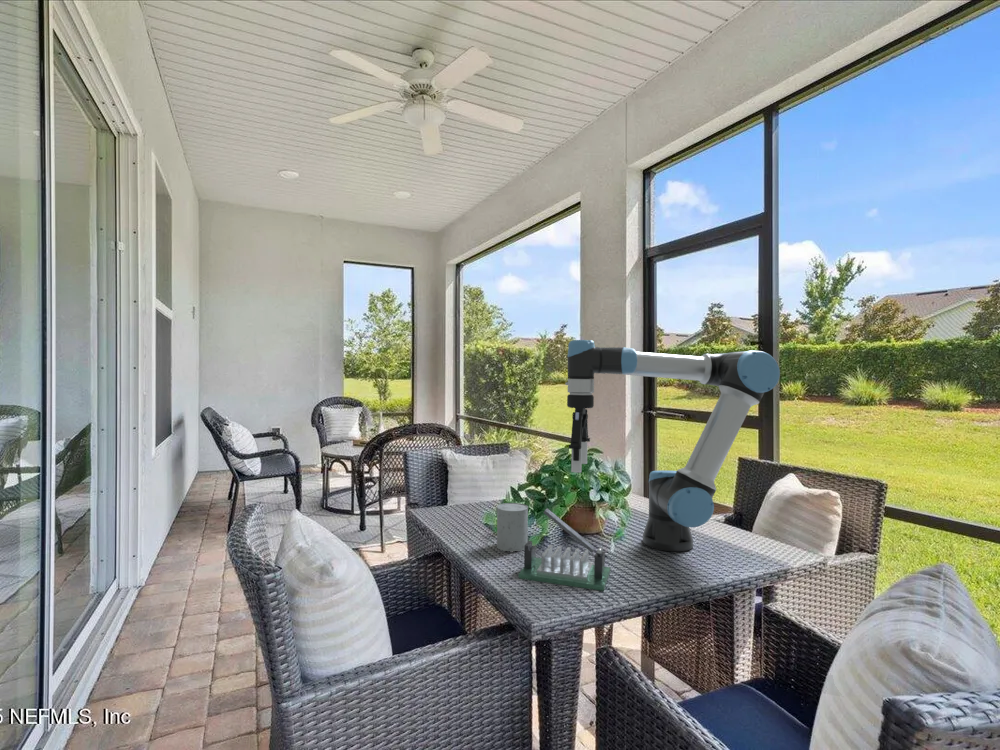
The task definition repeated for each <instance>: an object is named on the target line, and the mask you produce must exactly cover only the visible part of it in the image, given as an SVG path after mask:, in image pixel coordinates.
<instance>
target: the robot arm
mask: <svg viewBox="0 0 1000 750" xmlns="http://www.w3.org/2000/svg"><path fill="white" fill-rule="evenodd" d="M595 374H605V375H606V374H608V375H609V374H610V375H626V376H634V377H635V376H637V377H650V378H663V379H675V380H685V381H686V380H688V381H698V382H699V383H700V384H701V385H710V386H714V387H715V386H716V387H718V388H719V391H720V395H719V398H718V400H717V401H716V403H715V406H714V407H713V410H712V411H711V414H710V415H709V418H708V420H707V422H706V424H705V426H704V428H703V430H702V431H701V434H700V436H699V439H697V442H696V444H695V447H694V448H693V451H692V452H691V455H690V456H689V459H688V460H687V463H686V465H685V466H684V467H681V468H680V469H679V468H678V469H677V470H662V469H661V470H653V471H650V473H649V476H648V477H649V478H648V519H647V521H646V524H645V528H644V530H643V532H642V543H643V544H645V546H647V547H650V548H651V549H654V550H655V549H656V550H659V551H664V552H686V551H689V550H692V549H693V548H694V538H693V535H692V531H691V528H698V527H702V526H703V525H705V524H706V523H708V521H710V519H711V518H712V516H713V514H714V511H715V504H714V500H713V497H714V496H715V493H716V491H717V486H716V484H715V480H716V478H717V476H718V474H719V472H720V469H721V468H722V466H723V464H724V462H725V459H726V458H727V456H728V454H729V452H730V450H731V447H732V446H733V443H734V441H735V440H736V438H737V435H738V434H739V431H740V430H741V427H742V425H743V424H744V421H745V420H746V417H747V415H748V413H749V411H750V409H751V408H752V407H753V406H755V405H758V404H760V402H761V400H762V398H763V396H764V394H765V393H768V392H769V391H771V390H773V389H774V388H775V387H776V386H777V384H778V383H779V380H780V377H781V375H780V374H781V371H780V367H779V365H778V362H777V361H776V359H775V358H774V357H773V356H772V355H771V354H770V353H767V352H765V351H762V350H753V349H752V350H751V349H750V350H747V351H733V352H726V353H714V354H713V353H712V354H711V353H703V354H702V355H701V356H700V355H699V356H697V355H685V354H672V353H659V352H648V351H646V352H645V351H636V349H635V348H633V347H626V346H623V347H598V346H596V345H595V341H594V340H592V339H573V340H572V339H571V341H569V342H568V347H567V382H565V384H564V385H565V386H567V393H568V395H567V401H566V407H568V408H569V409H574V412H572V424H571V437H570V444H569V445H568V449H571V459H570V460H571V465H570V466H571V470H570V472H571V473H580V474H581V473H582V468H583V467H582V466H583V465H587V464H588V443H589V442H590V441H591V438H590V437H589V428H588V417H589V415H588V409H593V408H594V402H595V401H594V400H595V399H594V398H595V396H594V395H593V393H595Z"/></svg>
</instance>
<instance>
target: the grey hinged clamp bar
mask: <svg viewBox="0 0 1000 750" xmlns="http://www.w3.org/2000/svg"><path fill="white" fill-rule="evenodd" d="M543 514H544V515H545V516H547V517H548V518H549V519H550V520H551V521H553V522H554V523H555V524H556V525H557V526H558V527H560V528H561V529H562V530H564V532H566V533H567V534H569V536H571V537H572V538H573V539H575V540H576V541H577V542H578V543H580V545H582V546H583V547H584V548H585V549H588V550H589V553H594V551H595V550H596V547H595V546H594V545H592V543H590V542H589V541H588V540H587V539H586V538H584V537H583V536H582V535H580V534H579V533H578V531H576V530H575V529H574V528H572V526H570V525H568V524H567V523H566V522H565V521H563V520H562V519H561V518H560V517H559V516H557V515H556V514H555V513H554V512H553V511H551V510H550V509H549V508H548V507H547V508H546V509H544V511H543ZM597 548H598V549H597V550H596V552H597V555H599V556H600V555H601V553H602V551H604V548H603V547H602V546H599V547H597Z"/></svg>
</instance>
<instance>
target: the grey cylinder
mask: <svg viewBox="0 0 1000 750" xmlns="http://www.w3.org/2000/svg"><path fill="white" fill-rule="evenodd" d="M496 509H497V510H496V512H497V513H496V515H497V517H496V522H497V523H496V524H497V525H496V548H497V549H498V550H499V549H500V550H499V551H502V550H503V551H502V552H505V551H510V552H509V553H512V552H511V551H520V550H524V545H525V544H526V543H527V542H528V541H529V540H528V535H529V534H528V533H529V532H528V530H529V528H528V527H529V526H528V525H529V524H528V521H529V519H528V518H529V517H528V516H529V506H528V505H526V504H524V503H519V502H505V503H500V504H498V505H497V506H496ZM520 552H521V551H520Z"/></svg>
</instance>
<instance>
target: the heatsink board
mask: <svg viewBox="0 0 1000 750" xmlns="http://www.w3.org/2000/svg"><path fill="white" fill-rule="evenodd" d="M553 546H554V545H553V544H549V545H548V546H547V547H546V549H545V550H544V552H543V553H542V554H541V557H536V550H537V549H536V547H537V546H536V545H533V541H531V540H528V541H527V543H526V544H525V545H524V551H523V552H524V553H523V554H524V556H523V557H524V558H523V559H524V560H523V561H524V563H523V568H522V569H521V570H520V571H519V572H518V579H522V580H527V581H532V582H533V581H534V582H540V583H548V584H554V585H555V584H556V585H561V586H567V587H575V588H582V589H587V590H588V589H589V590H595V591H601V592H604V591H605V589H606V586H607V582H608V580H609V576H610V574H611V567H609V566H606V564H605V561H606V559H605V558H606V555H605V554H606V552H605V551H604V550H603V551H602V553H601V555H600V556H599V555H597V551H596V552H595V555H594V559H593V560H594V561H593V562H594V563H593V562H590V561H589V560H590V557H589V555H590V554H589V553H590V551H589V550H588V549H587V548H585V550H584V552H583V554H582V556H581V558H580V553H581V552H580V548H578V547H577V548H576V549H575V550H574V552H572V555H571V547H570V546H567V547H566V548H565V550H564V552H562V545H558V546H557V548H556V549H555V550H553Z"/></svg>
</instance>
